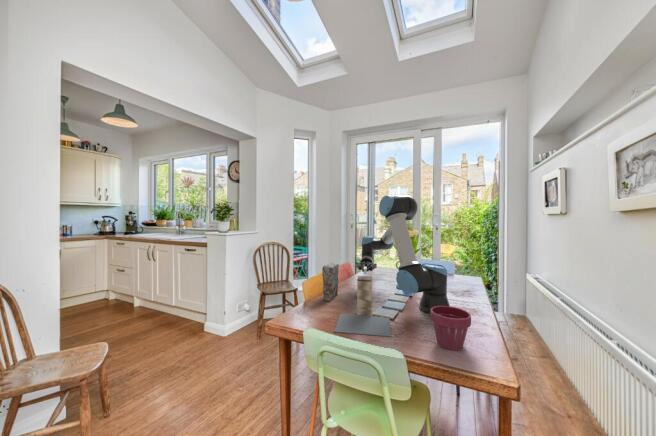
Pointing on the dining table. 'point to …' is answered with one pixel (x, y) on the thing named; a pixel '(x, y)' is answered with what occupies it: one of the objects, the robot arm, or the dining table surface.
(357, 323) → the slate mat
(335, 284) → the stone block
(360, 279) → the birch block
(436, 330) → the plant pot
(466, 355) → the dining table surface
